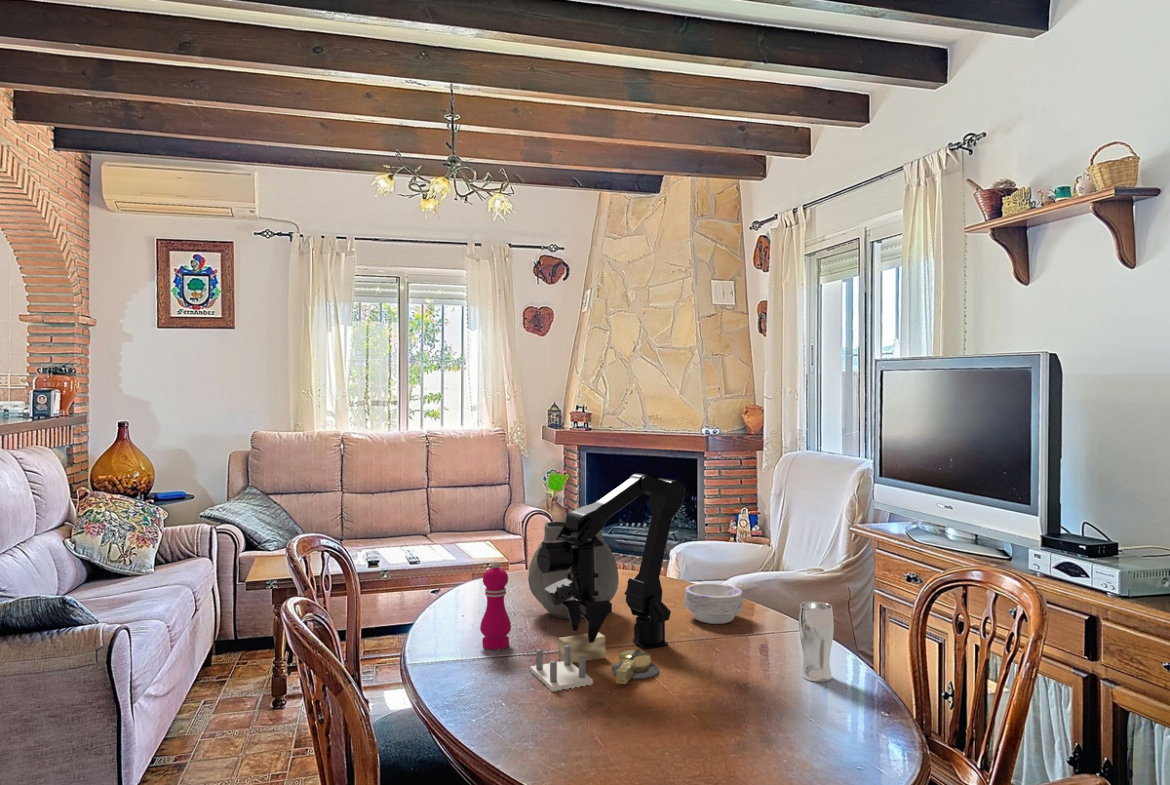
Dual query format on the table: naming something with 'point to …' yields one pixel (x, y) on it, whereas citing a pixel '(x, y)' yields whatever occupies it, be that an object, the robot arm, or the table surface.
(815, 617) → the beer glass
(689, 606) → the paper bowls
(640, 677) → the base
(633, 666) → the brass lever handle
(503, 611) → the pepper mill
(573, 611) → the robot arm
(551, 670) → the peg rack
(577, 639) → the beech bar
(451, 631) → the table surface
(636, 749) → the table surface
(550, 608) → the ceramic pot
